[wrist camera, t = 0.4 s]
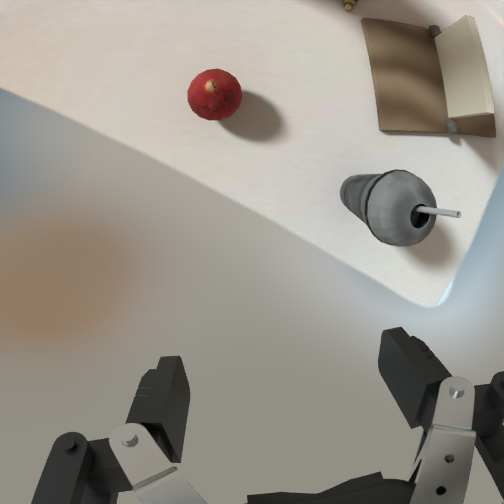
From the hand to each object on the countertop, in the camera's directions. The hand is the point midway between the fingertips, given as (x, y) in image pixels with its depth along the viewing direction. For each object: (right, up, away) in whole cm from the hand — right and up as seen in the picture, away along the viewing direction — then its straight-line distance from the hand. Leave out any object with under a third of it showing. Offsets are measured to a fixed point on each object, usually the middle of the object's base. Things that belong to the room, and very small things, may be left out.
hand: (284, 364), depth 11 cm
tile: (+24, +27, +15) cm, 39 cm away
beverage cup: (+12, +12, +26) cm, 31 cm away
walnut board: (+25, +29, +21) cm, 44 cm away
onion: (-5, +22, +22) cm, 32 cm away
